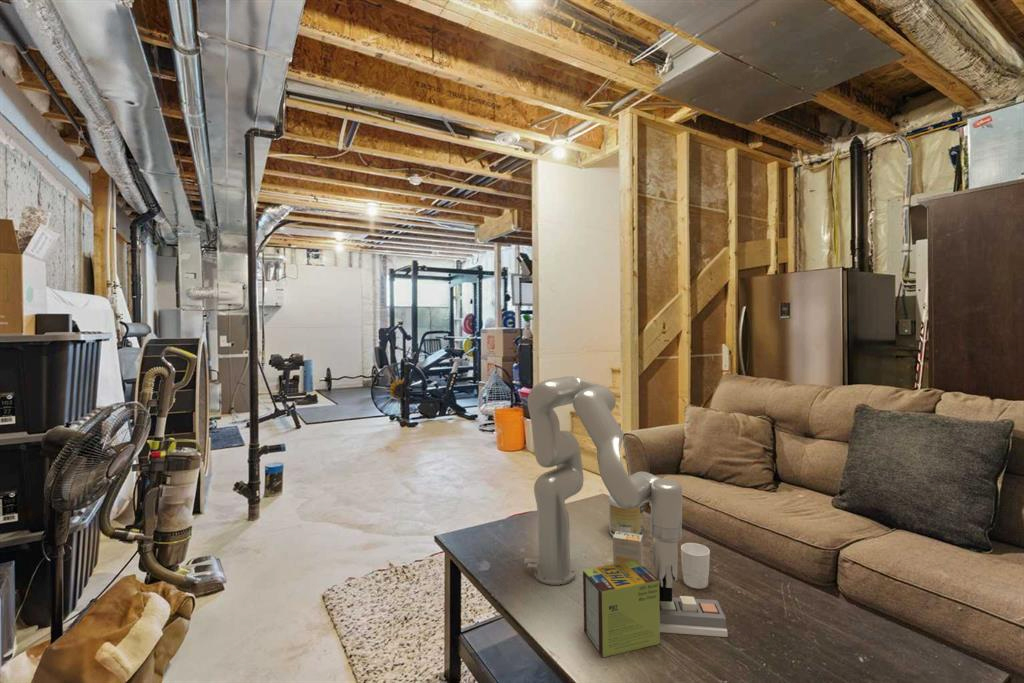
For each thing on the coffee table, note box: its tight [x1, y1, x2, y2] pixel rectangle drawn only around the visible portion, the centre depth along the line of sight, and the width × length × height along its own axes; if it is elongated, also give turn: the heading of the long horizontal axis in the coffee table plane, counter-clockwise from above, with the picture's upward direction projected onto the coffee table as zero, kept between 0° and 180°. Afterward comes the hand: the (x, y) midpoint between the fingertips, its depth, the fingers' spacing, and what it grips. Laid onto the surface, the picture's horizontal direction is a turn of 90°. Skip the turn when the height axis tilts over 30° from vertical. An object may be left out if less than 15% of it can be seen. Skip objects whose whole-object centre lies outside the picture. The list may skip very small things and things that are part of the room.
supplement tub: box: [608, 495, 645, 537], centre depth 169 cm, size 12×12×17 cm
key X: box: [679, 595, 697, 612], centre depth 119 cm, size 3×3×2 cm
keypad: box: [659, 596, 729, 638], centre depth 120 cm, size 16×10×4 cm, turn 81°
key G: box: [700, 603, 718, 614], centre depth 119 cm, size 3×3×2 cm
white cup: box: [680, 542, 711, 590], centre depth 137 cm, size 8×8×10 cm
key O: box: [660, 601, 676, 611], centre depth 120 cm, size 3×3×2 cm
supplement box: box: [612, 531, 645, 567], centre depth 140 cm, size 8×5×13 cm, turn 65°
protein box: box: [582, 560, 661, 658], centre depth 114 cm, size 10×15×16 cm
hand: (665, 599), depth 121 cm, fingers closed
